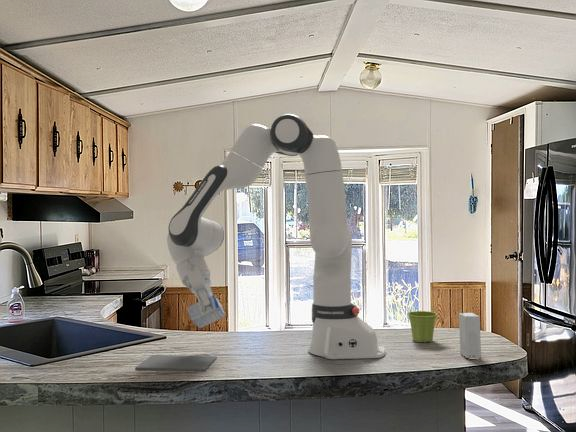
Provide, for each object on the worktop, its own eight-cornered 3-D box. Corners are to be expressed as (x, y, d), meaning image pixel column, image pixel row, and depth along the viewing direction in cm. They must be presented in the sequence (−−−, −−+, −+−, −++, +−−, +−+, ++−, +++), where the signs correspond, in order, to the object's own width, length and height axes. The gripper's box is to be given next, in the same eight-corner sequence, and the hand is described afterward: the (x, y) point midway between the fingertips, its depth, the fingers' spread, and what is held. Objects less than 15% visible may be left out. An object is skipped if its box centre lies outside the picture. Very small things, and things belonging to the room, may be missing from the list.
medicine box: (194, 316, 171) (220, 303, 172) (199, 329, 169) (226, 316, 170) (186, 307, 164) (214, 294, 165) (191, 321, 162) (219, 307, 163)
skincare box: (481, 359, 162) (481, 316, 161) (465, 359, 161) (465, 316, 161) (474, 354, 168) (473, 312, 168) (458, 354, 168) (458, 312, 167)
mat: (216, 358, 165) (216, 356, 165) (205, 371, 152) (205, 369, 152) (152, 357, 167) (152, 354, 167) (135, 369, 154) (135, 367, 154)
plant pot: (404, 342, 183) (403, 314, 182) (411, 336, 191) (411, 310, 191) (434, 345, 178) (433, 317, 178) (440, 339, 187) (440, 312, 187)
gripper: (196, 252, 165) (214, 292, 159) (210, 283, 183) (227, 320, 176) (176, 262, 164) (192, 302, 158) (192, 291, 182) (208, 329, 175)
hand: (211, 312), depth 167 cm, fingers closed on medicine box, 8 cm apart
